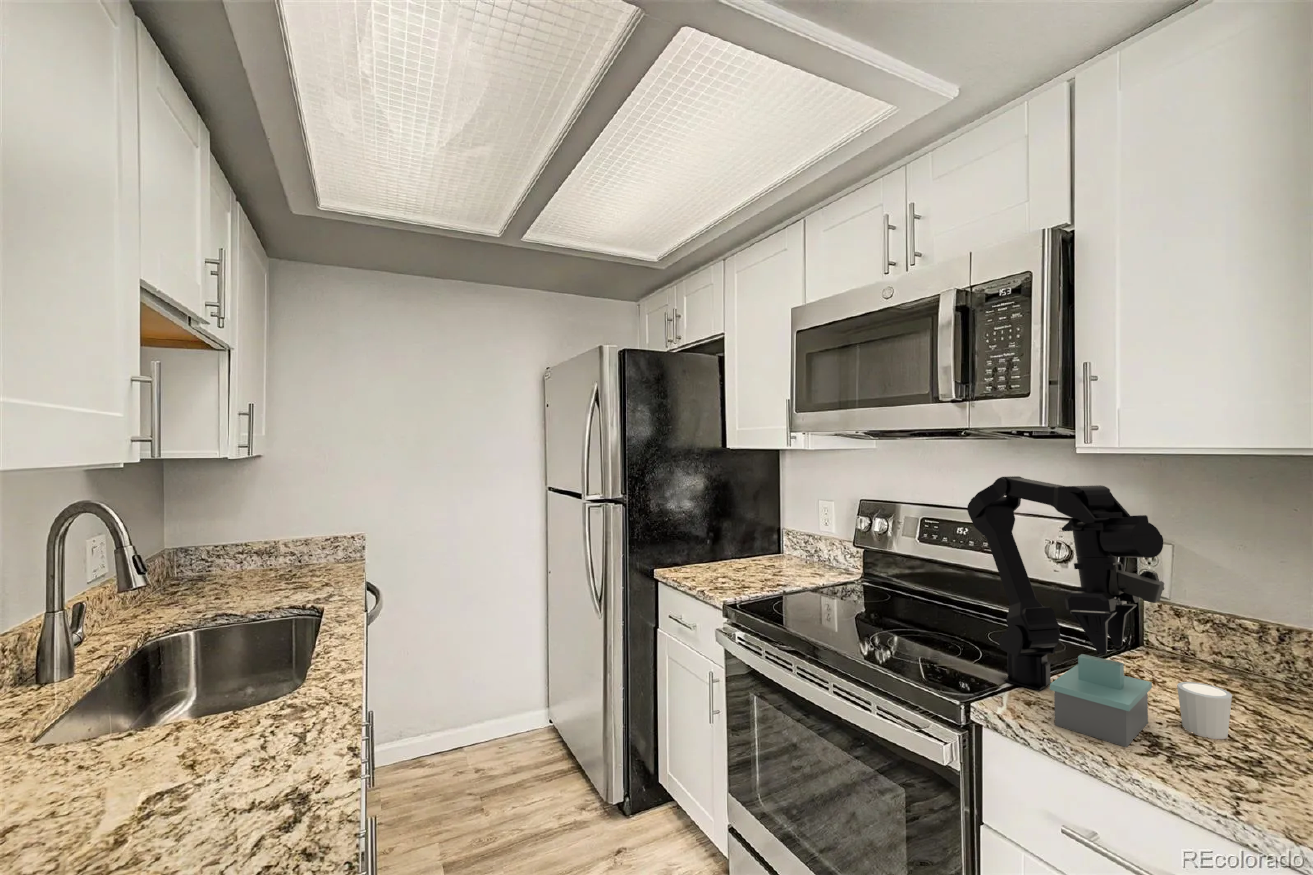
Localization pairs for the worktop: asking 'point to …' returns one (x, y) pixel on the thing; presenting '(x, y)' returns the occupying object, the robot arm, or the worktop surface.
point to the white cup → (1204, 709)
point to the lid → (1102, 683)
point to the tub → (1100, 718)
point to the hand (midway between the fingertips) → (1110, 649)
